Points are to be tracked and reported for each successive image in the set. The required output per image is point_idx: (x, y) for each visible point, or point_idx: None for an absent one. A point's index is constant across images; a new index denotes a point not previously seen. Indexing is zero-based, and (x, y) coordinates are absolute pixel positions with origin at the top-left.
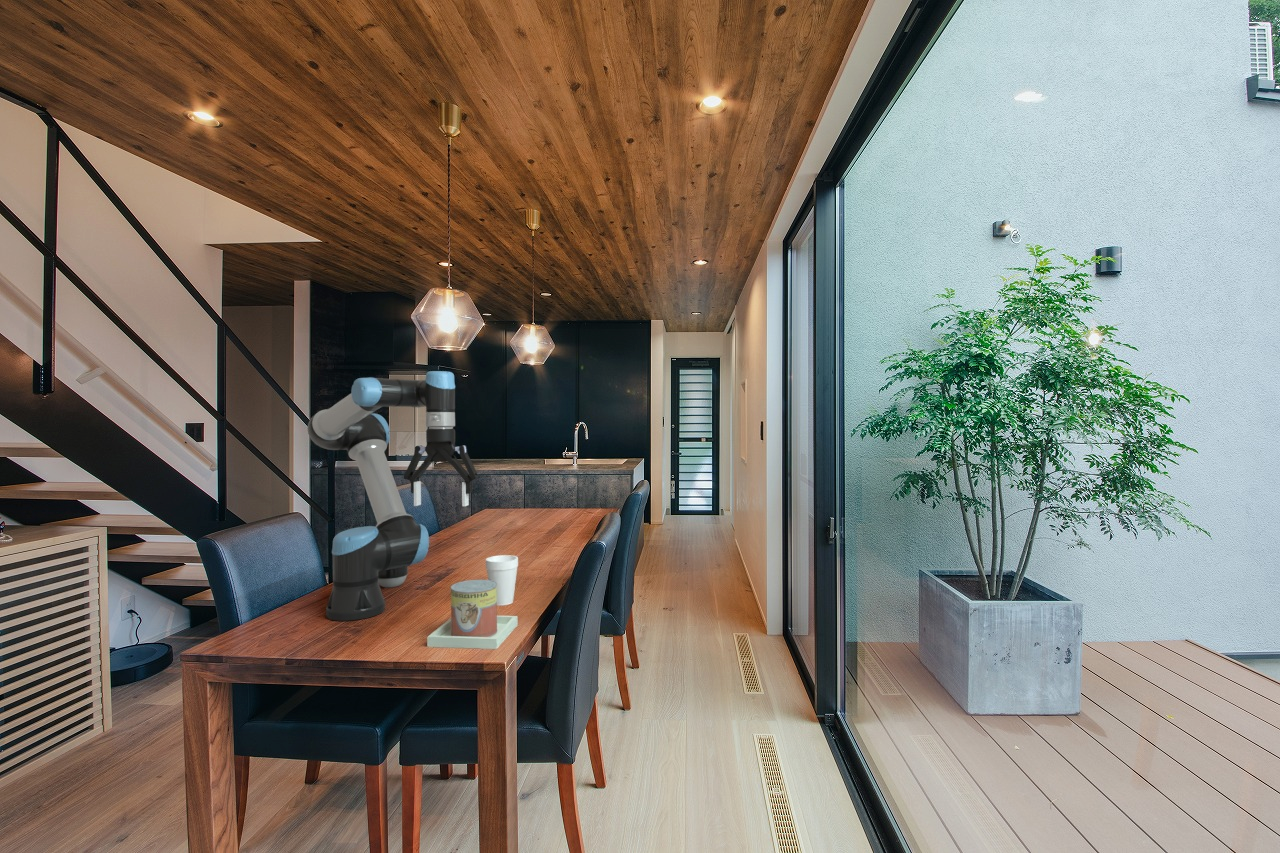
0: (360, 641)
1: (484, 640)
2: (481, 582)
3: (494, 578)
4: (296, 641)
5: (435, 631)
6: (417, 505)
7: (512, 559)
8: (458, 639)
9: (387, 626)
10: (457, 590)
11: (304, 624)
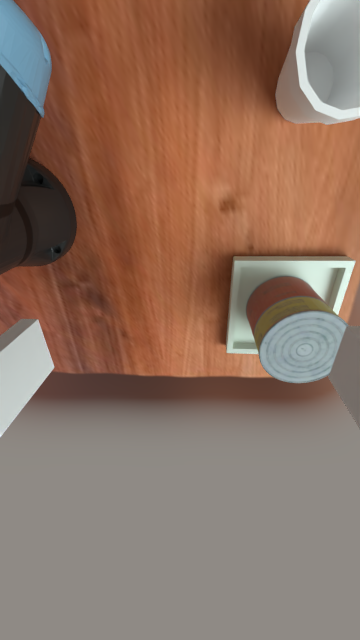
0: (131, 333)
1: None
2: (317, 329)
3: (312, 120)
4: (54, 336)
5: (230, 335)
6: (50, 359)
7: None
8: None
9: (129, 278)
10: (278, 375)
11: (3, 278)
